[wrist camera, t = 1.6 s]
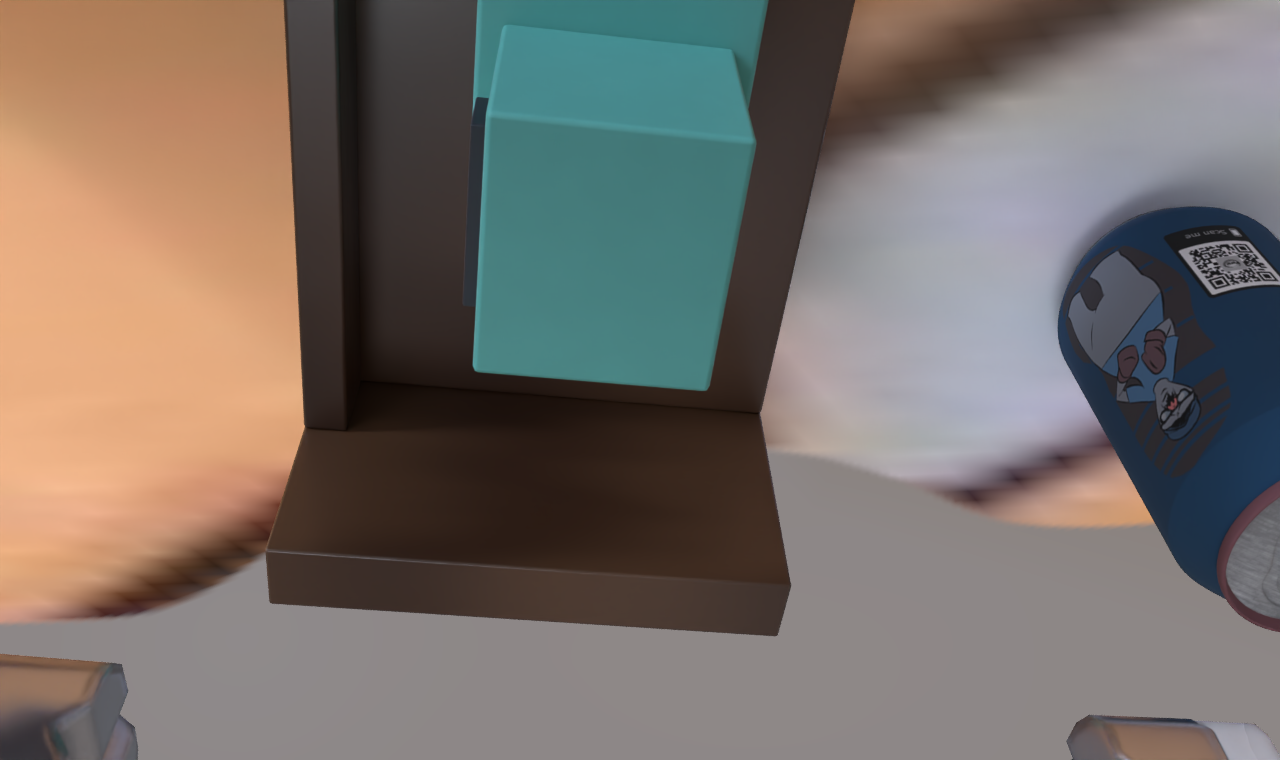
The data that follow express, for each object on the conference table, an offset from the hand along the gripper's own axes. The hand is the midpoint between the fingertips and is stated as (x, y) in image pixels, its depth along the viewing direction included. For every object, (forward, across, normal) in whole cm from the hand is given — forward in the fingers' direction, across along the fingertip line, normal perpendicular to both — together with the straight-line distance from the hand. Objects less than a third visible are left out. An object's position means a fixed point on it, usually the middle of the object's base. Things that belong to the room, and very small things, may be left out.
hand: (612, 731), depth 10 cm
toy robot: (+18, 0, 0) cm, 18 cm away
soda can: (+26, -19, +9) cm, 33 cm away
